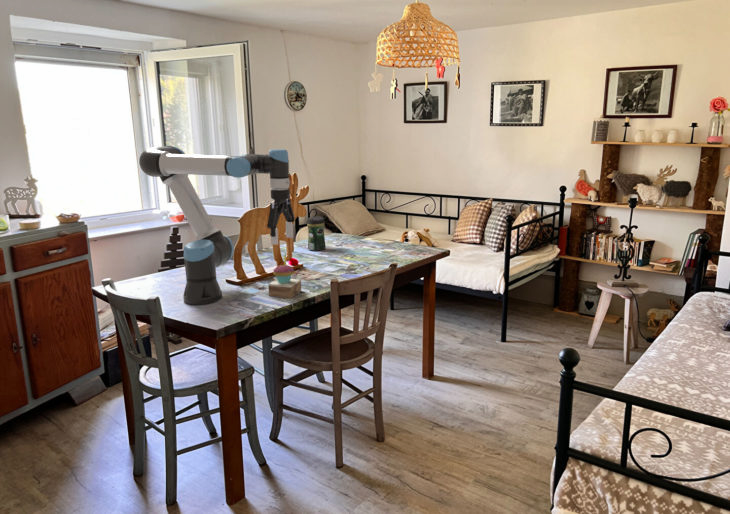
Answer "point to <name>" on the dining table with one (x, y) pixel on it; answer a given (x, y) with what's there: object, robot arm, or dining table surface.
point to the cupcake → (283, 272)
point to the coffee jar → (316, 233)
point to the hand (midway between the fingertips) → (282, 240)
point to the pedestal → (285, 288)
